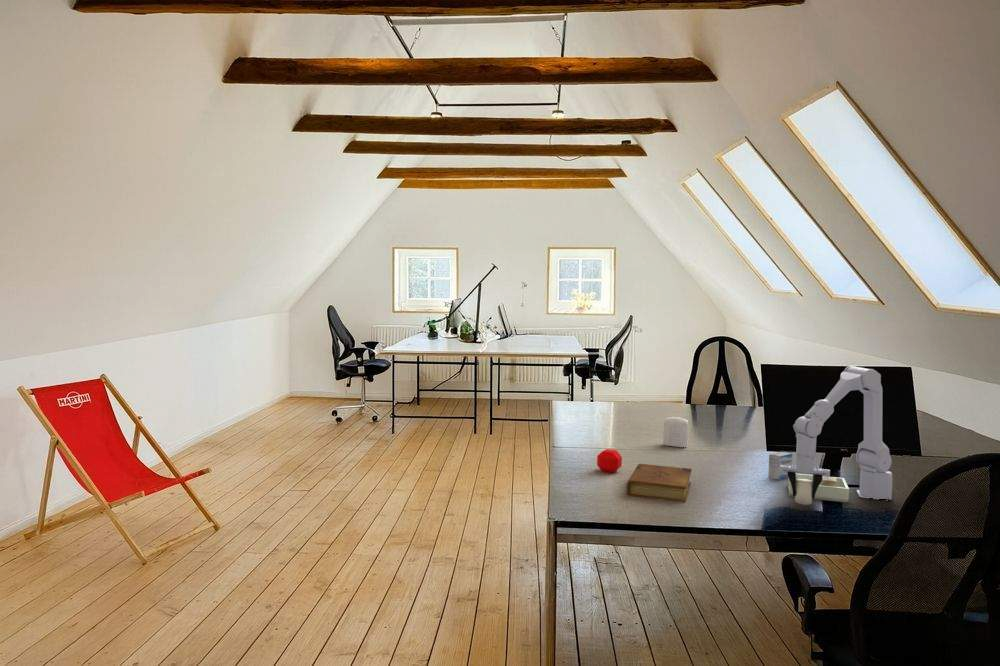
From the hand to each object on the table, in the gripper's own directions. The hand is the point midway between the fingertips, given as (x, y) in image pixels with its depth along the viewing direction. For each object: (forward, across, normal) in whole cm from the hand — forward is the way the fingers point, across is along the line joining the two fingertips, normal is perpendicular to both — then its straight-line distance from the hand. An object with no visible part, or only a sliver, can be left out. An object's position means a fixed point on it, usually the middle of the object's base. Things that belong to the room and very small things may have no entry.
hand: (803, 496), depth 236 cm
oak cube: (+1, +8, +11) cm, 13 cm away
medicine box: (+2, -6, +29) cm, 30 cm away
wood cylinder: (+2, 0, 0) cm, 2 cm away
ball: (+2, -65, +13) cm, 66 cm away
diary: (+3, -45, -3) cm, 45 cm away
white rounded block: (+2, -46, +64) cm, 79 cm away
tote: (+2, +5, +12) cm, 13 cm away
